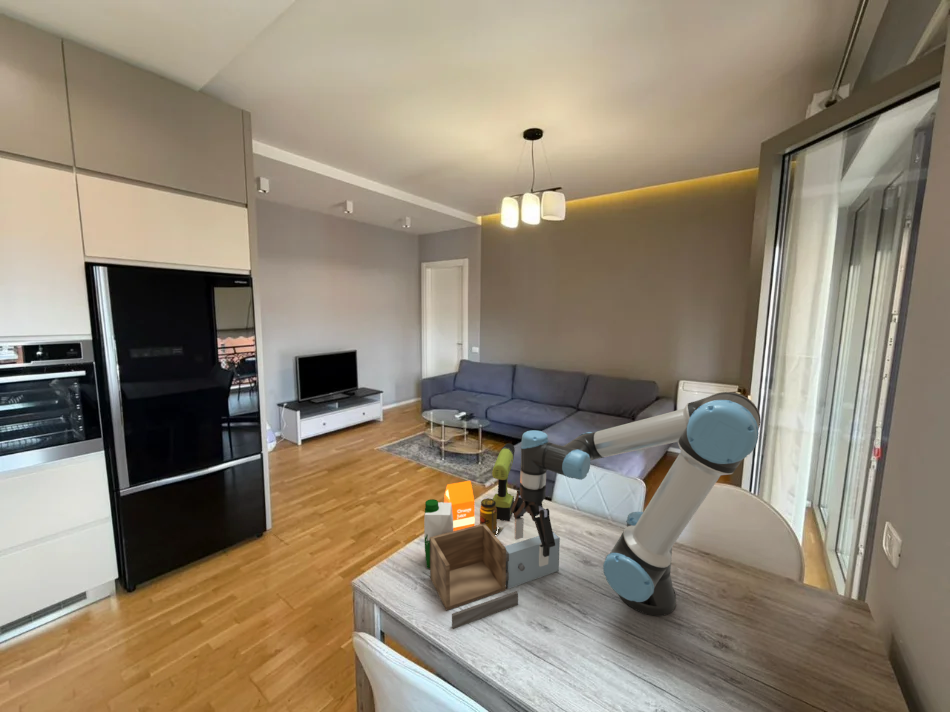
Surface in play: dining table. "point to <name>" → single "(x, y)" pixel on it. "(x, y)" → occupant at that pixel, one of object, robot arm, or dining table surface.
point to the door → (530, 561)
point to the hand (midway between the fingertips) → (530, 550)
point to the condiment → (489, 515)
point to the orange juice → (461, 504)
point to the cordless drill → (503, 482)
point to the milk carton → (436, 522)
